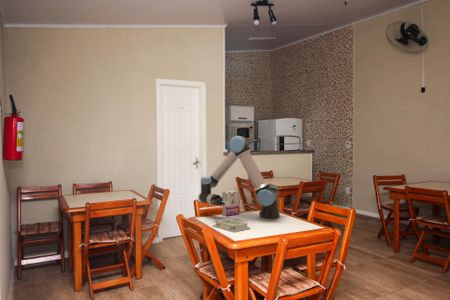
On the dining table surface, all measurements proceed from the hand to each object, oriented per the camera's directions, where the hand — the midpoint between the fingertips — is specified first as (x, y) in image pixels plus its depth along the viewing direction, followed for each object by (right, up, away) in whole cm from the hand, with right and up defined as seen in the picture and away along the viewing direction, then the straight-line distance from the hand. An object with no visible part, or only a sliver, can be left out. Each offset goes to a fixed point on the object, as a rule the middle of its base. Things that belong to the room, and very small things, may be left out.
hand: (235, 203), depth 237 cm
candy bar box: (-3, -9, +4) cm, 10 cm away
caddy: (-3, -14, -13) cm, 19 cm away
